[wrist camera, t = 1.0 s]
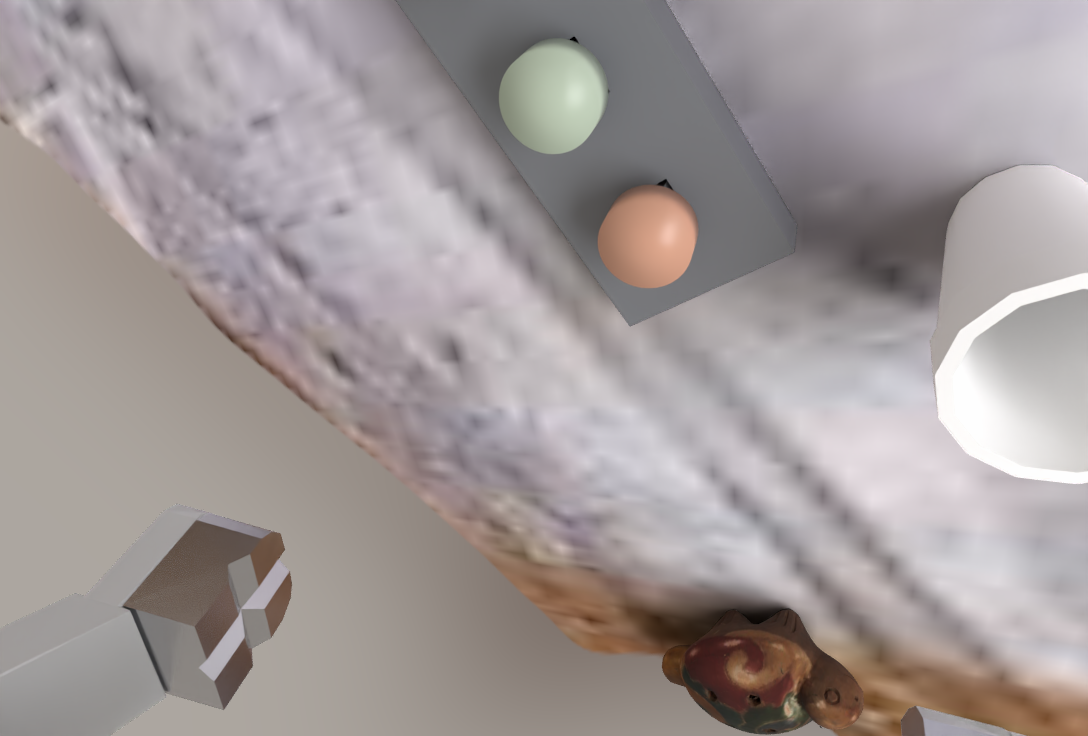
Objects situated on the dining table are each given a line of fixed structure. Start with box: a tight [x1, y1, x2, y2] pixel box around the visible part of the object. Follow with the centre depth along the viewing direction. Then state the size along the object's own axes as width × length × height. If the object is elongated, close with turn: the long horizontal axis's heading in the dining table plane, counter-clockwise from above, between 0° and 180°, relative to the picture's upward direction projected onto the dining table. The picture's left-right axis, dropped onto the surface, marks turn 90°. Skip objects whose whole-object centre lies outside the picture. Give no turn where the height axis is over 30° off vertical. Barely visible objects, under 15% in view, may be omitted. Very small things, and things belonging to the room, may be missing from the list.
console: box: [396, 0, 797, 326], centre depth 39 cm, size 10×26×3 cm, turn 37°
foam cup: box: [930, 165, 1088, 484], centre depth 33 cm, size 10×9×13 cm
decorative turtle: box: [662, 609, 864, 734], centre depth 59 cm, size 10×15×8 cm, turn 123°
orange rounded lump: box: [598, 179, 699, 288], centre depth 39 cm, size 5×5×5 cm
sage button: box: [499, 38, 608, 154], centre depth 37 cm, size 5×5×5 cm
